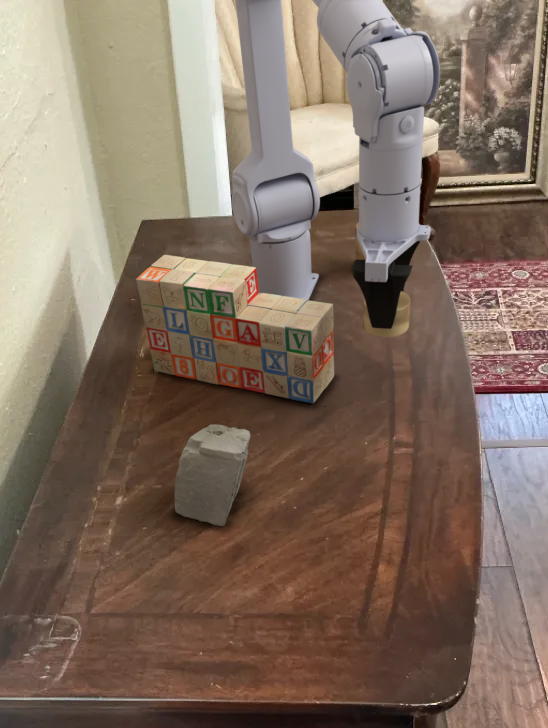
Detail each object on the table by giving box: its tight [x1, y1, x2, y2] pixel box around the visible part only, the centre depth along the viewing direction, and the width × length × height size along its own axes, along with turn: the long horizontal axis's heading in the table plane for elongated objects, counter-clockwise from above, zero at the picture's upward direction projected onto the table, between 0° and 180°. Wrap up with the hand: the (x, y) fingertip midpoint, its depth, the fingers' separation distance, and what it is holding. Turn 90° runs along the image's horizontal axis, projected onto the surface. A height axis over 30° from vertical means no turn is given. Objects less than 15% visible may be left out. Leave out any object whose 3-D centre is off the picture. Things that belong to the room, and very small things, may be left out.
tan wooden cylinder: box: [362, 291, 411, 339], centre depth 90 cm, size 5×5×3 cm
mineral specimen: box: [173, 424, 251, 527], centre depth 83 cm, size 7×9×8 cm
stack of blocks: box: [135, 254, 335, 404], centre depth 98 cm, size 21×6×12 cm, turn 63°
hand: (386, 314), depth 90 cm, fingers closed on tan wooden cylinder, 5 cm apart
